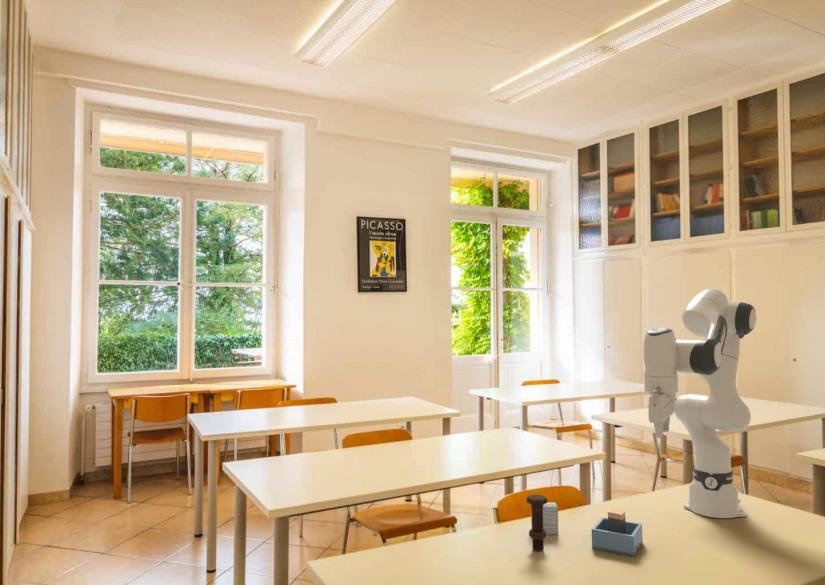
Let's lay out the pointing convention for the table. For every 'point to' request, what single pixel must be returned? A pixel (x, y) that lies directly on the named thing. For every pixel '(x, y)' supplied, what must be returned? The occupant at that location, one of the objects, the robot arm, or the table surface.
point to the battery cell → (616, 521)
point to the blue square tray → (617, 538)
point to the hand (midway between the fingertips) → (662, 434)
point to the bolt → (537, 521)
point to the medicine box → (549, 518)
